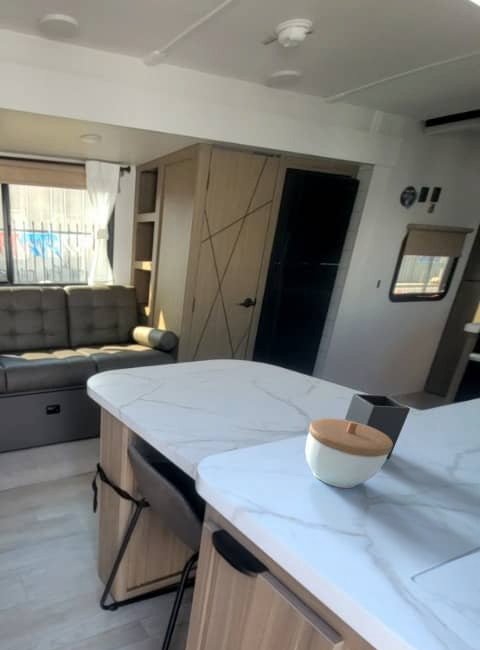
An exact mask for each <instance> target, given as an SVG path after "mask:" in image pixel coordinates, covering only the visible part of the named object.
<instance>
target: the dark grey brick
mask: <svg viewBox="0 0 480 650" xmlns="http://www.w3.org/2000/svg"><path fill="white" fill-rule="evenodd" d="M410 411H411V408H410V407H409V406H407V405H405V404H403V403H402V402H399V401H398V400H396V399H395V398H392V397H391V396H389V395H386V394H385V395H383V394H366V393H353V394H352V397H351V400H350V403H349V406H348V408H347V412H346V416H345V418H344V420H348V421H354V422H357V423H361V424H364V425H367V426H370V427H372V428H374V429H377V430H379V431H381V432H382V433H384V434H386V435H387V436H388V437H389V438H390V439H391V440H392V442H393V446H392V449H391V451H390V452H389V453H388V456H387V458H386V460H387V459H390V458H391V456H392V454H393V451H394V448H395V447H396V445H397V442H398V439H399V437H400V435H401V432H402V430H403V427H404V425H405V423H406V420H407V418H408V415H409V413H410Z"/></svg>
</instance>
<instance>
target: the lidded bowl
mask: <svg viewBox="0 0 480 650" xmlns="http://www.w3.org/2000/svg"><path fill="white" fill-rule="evenodd" d="M392 446H393V442H392V440H391V439H390V438H389V437H388V436H387V435H386V434H384V433H382V432H381V431H379V430H377V429H374V428H372V427H370V426H367V425H364V424H361V423H357V422H354V421H348V420H345V419H342V418H332V417H331V418H330V417H329V418H327V417H326V418H318V419H315V420H313V421H312V422H311V423H310V425H309V427H308V434H307V438H306V442H305V451H304V452H305V458H306V462H307V464H308V466H309V468H310V469H311V471H312V474H313V476H314V477H315V478H316V479H317V480H319V481H320V482H322V483H325V484H326V485H329V486H333V487H336V488H341V489H352V488H355V487H356V486H357V485H362V484H364V483H366V482H368V481H369V480H371V479H373V478H374V477H375V476H376V475H377V474H378V472H380V471H381V469H382V468H383V466H384V464H385V462H386V460H387V456H388V453H389V452H390V451H391V449H392Z"/></svg>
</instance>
